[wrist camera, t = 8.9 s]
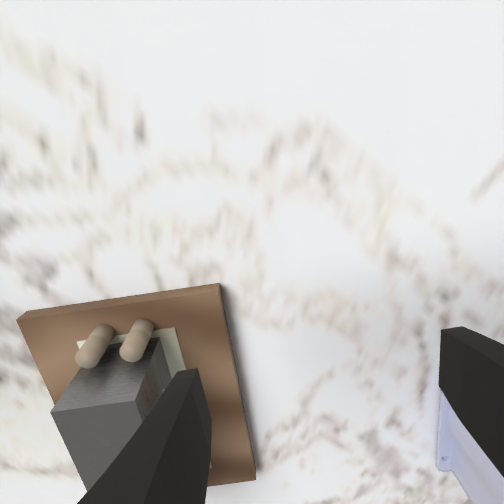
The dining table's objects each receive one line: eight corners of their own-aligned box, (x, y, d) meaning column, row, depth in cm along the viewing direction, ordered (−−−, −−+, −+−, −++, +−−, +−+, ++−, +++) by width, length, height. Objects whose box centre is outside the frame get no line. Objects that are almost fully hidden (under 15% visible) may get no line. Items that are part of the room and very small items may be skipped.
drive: (193, 454, 23) (181, 536, 19) (137, 462, 23) (112, 545, 19) (160, 336, 20) (135, 400, 15) (94, 346, 20) (49, 412, 15)
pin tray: (255, 467, 25) (257, 516, 22) (104, 487, 26) (84, 539, 22) (219, 283, 20) (214, 312, 17) (26, 311, 20) (-16, 346, 17)
